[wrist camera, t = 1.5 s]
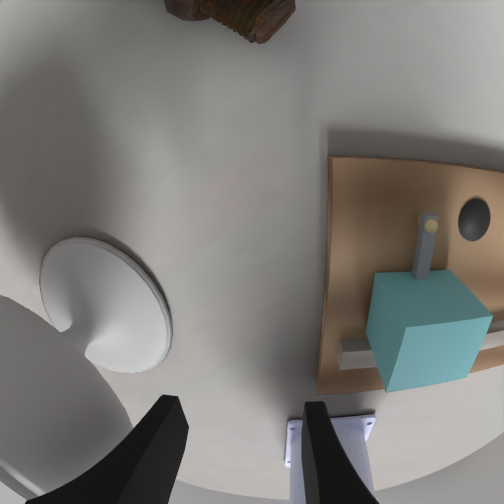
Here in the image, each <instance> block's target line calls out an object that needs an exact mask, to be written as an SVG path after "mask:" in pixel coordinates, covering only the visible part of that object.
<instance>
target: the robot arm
mask: <svg viewBox="0 0 504 504" xmlns="http://www.w3.org/2000/svg"><path fill="white" fill-rule="evenodd" d="M375 420H376V416H375V415H373V414H370V415H361V416H352V417H340V418H330V417H329V415H328V412H327V408H326V405H325V403H324V402H323V401H316V402H305V406H304V414H303V420H290V421H289V422H288V423H287V440H286V455H285V466H286V467H290V502H289V504H379V503H378V501H377V500H376V499H375V495H374V488H373V481H372V475H371V469H370V463H369V457H368V451H367V446H366V441H367V439H368V437H369V434H370V432H371V430H372V427H373V425H374V423H375ZM188 429H189V426H188V423H187V420H186V418H185V415H184V412H183V409H182V406H181V404H180V401H179V398H178V396H170V395H162V396H160V398H159V399H158V400H157V401H156V403H155V404H154V405H153V406H152V408H151V409H150V410H149V411H148V412H147V414H146V415H145V416H144V417H143V418H142V419H141V421H140V422H139V423H138V424H137V425H136V426H135V427H134V428H133V429H132V431H131V432H130V433H129V434H128V435H127V436H126V437H125V438H124V439H123V440H122V441H121V442H120V443H119V444H118V445H117V446H116V447H115V448H114V449H113V450H112V451H111V452H110V453H108V454H107V455H106V456H105V457H104V458H103V459H102V460H100V461H99V462H98V463H97V464H95V465H94V466H93V467H91V468H90V469H88V470H87V471H86V472H84V473H83V474H81V475H80V476H78V477H77V478H75V479H73V480H72V481H70V482H68V483H66V484H64V485H63V486H61V487H59V488H57V489H55V490H53V491H51V492H48V493H46V494H43V495H41V496H38V497H35V498H33V499H30V500H27V501H26V503H25V504H168V502H169V498H170V494H171V491H172V488H173V485H174V482H175V479H176V476H177V473H178V470H179V467H180V463H181V460H182V457H183V454H184V451H185V446H186V441H187V435H188Z"/></svg>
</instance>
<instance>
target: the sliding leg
mask: <svg viewBox="0 0 504 504" xmlns="http://www.w3.org/2000/svg"><path fill="white" fill-rule="evenodd" d="M437 221H438V216H437V215H435V214H434V213H420V215H419V216H418V218H417V223H418V225H419V228H418V236H417V243H416V250H415V257H414V263H413V269H412V272H385V273H375V277H374V284H373V291H372V297H371V304H370V310H369V315H368V321H367V327H366V335H367V338H368V340H369V343H370V346H371V349H372V352H373V355H374V358H375V360H376V363H377V366H378V369H379V372H380V376H381V379H382V382H383V385H384V388H385V391H386V392H392V391H399V390H405V389H411V388H417V387H423V386H428V385H434V384H439V383H443V382H448V381H453V380H457V379H461V378H465V377H467V375H468V373H469V371H470V369H471V367H472V365H473V363H474V361H475V359H476V357H477V354H478V352H479V350H480V348H481V345H482V343H483V341H484V338H485V336H486V333H487V331H488V328H489V326H490V323H491V320H492V318H493V315H492V314H491V313H490V312H489V310H488V309H487V308H486V307H485V306H484V305H483V304H482V303H481V302H480V301H479V299H478V298H477V297H476V296H475V295H474V294H473V293H472V292H471V291H470V290H469V289H468V288H467V287H466V286H465V285H464V284H463V283H462V282H461V281H460V280H459V279H458V278H457V277H456V276H455V275H454V274H453V273H452V272H451V271H450V270H434V271H430V266H431V260H432V255H433V249H434V242H435V236H436V231H437V229H438V224H437Z"/></svg>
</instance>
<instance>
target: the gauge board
mask: <svg viewBox="0 0 504 504" xmlns="http://www.w3.org/2000/svg"><path fill="white" fill-rule="evenodd" d="M420 213H434V214H435V215H437V216H438V221H437V224H438V229H437V231H436V236H435V242H434V249H433V255H432V260H431V266H430V271H434V270H450V271H451V272H452V273H453V274H454V275H455V276H456V277H457V278H458V279H459V280H460V281H461V282H462V283H463V284H464V285H465V286H466V287H467V288H468V289H469V290H470V291H471V292H472V293H473V294H474V295H475V296H476V297H477V298H478V299H479V301H480V302H481V303H482V304H483V305H484V306H485V307H486V308H487V309H488V310H489V312H490V313H491V314H492V315H493V318H492V320H491V323H490V326H489V328H488V331H487V333H486V336H485V338H484V341H483V343H482V345H481V348H480V350H479V352H478V354H477V357H476V359H475V361H474V363H473V365H472V367H471V369H470V371H469V373H473V372H477V371H481V370H484V369H488V368H492V367H495V366H499V365H502V364H504V172H503V171H498V170H492V169H486V168H479V167H472V166H465V165H458V164H450V163H441V162H432V161H422V160H411V159H398V158H382V157H362V156H328V222H327V251H326V271H325V287H324V302H323V314H322V326H321V337H320V347H319V356H318V365H317V374H316V388H317V395H321V394H338V393H351V392H362V391H371V390H380V389H385V388H384V385H383V382H382V379H381V376H380V372H379V369H378V366H377V363H376V360H375V358H374V355H373V352H372V349H371V346H370V343H369V340H368V338H367V335H366V327H367V321H368V315H369V310H370V304H371V297H372V291H373V284H374V277H375V273H385V272H412V269H413V263H414V257H415V250H416V243H417V236H418V228H419V225H418V223H417V218H418V216H419V215H420ZM469 373H468V374H469Z"/></svg>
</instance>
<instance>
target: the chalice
mask: <svg viewBox="0 0 504 504" xmlns="http://www.w3.org/2000/svg"><path fill="white" fill-rule="evenodd" d="M39 283H40V291H41V297H42V301H43V304H44V307H45V310H46V312H47V314H48V316H49V318H50V320H51V322H52V324H53V326H54V327H55V328H54V327H53V326H52V325H50V324H49V323H48V322H46V321H45V320H44V319H43V318H41V317H40V316H39V315H37V314H35V313H34V312H32V311H31V310H29V309H27V308H26V307H24V306H22V305H20V304H19V303H17V302H15V301H13V300H12V299H10V298H8V297H5V296H1V295H0V481H1V482H3V483H4V484H5V485H6V486H8V487H9V488H11V489H12V490H13V491H15V492H16V493H17V494H19V495H20V496H22V497H23V498H25V499H26V500H30V499H33V498H35V497H38V496H41V495H43V494H46V493H48V492H51V491H53V490H55V489H57V488H59V487H61V486H63V485H64V484H66V483H68V482H70V481H72V480H73V479H75V478H77V477H78V476H80V475H81V474H83V473H84V472H86V471H87V470H88V469H90V468H91V467H93V466H94V465H95V464H97V463H98V462H99V461H100V460H102V459H103V458H104V457H105V456H106V455H107V454H108V453H110V452H111V451H112V450H113V449H114V448H115V447H116V446H117V445H118V444H119V443H120V442H121V441H122V440H123V439H124V438H125V437H126V436H127V435H128V434H129V433H130V432H131V431H132V429H133V426H132V424H131V422H130V419H129V417H128V414H127V412H126V409H125V408H124V406H123V405H122V403H121V402H120V400H119V399H118V397H117V396H116V394H115V393H114V391H113V390H112V388H111V387H110V385H109V384H108V383H107V382H106V380H105V379H104V378H103V377H102V375H101V374H100V373H99V371H98V370H97V369H96V368H95V366H94V365H93V364H92V363H94V364H96V365H99V366H101V367H103V368H106V369H108V370H112V371H116V372H121V373H139V372H145V371H148V370H150V369H152V368H154V367H157V366H158V365H159V364H160V363H161V362H162V361H163V360H164V359H165V358H166V356H167V354H168V352H169V350H170V348H171V344H172V337H173V329H172V322H171V316H170V314H169V311H168V308H167V305H166V303H165V300H164V298H163V297H162V295H161V293H160V292H159V290H158V288H157V287H156V285H155V283H154V282H153V281H152V280H151V278H150V277H149V276H148V275H147V274H146V273H145V271H144V270H143V269H142V268H141V267H140V266H139V265H138V264H137V263H136V262H134V261H133V260H132V259H131V258H130V257H128V256H127V255H126V254H125V253H124V252H122V251H120V250H118V249H117V248H115V247H113V246H111V245H110V244H108V243H106V242H103V241H100V240H97V239H93V238H90V237H71V238H67V239H63V240H61V241H59V242H58V243H56V244H55V245H53V246H52V247H51V248H50V250H49V251H48V252H47V254H46V255H45V256H44V259H43V262H42V265H41V268H40V278H39ZM90 361H91V362H92V363H91V362H90Z"/></svg>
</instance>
